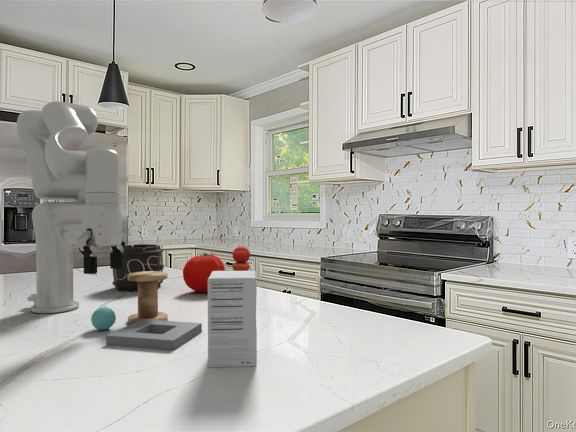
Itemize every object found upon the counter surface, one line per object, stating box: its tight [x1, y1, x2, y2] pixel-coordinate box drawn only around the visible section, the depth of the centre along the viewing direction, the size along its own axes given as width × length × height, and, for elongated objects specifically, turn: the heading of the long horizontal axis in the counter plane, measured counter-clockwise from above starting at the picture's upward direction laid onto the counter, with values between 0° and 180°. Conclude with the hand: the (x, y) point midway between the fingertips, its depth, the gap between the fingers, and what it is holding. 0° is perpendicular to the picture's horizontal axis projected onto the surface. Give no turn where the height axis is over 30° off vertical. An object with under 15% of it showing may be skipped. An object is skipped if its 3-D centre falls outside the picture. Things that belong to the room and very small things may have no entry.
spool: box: [127, 271, 169, 325], centre depth 114 cm, size 10×10×12 cm
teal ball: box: [90, 306, 117, 331], centre depth 105 cm, size 6×6×6 cm
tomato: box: [182, 252, 226, 293], centre depth 153 cm, size 16×14×14 cm
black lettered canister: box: [111, 243, 165, 293], centre depth 161 cm, size 18×18×16 cm
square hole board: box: [105, 319, 203, 351], centre depth 99 cm, size 16×14×2 cm
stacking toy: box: [231, 245, 251, 271], centre depth 125 cm, size 8×8×19 cm
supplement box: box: [207, 270, 258, 368], centre depth 85 cm, size 10×9×17 cm
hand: (104, 270), depth 105 cm, fingers open, 9 cm apart
